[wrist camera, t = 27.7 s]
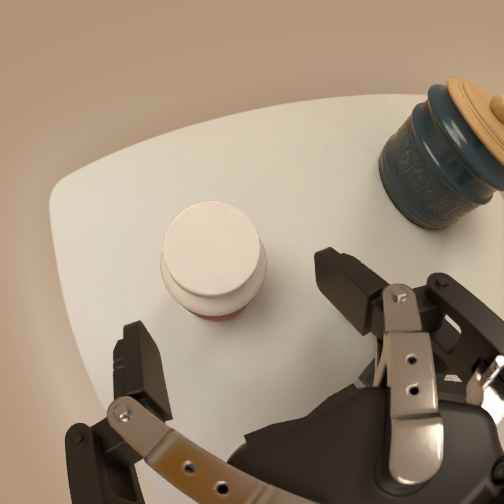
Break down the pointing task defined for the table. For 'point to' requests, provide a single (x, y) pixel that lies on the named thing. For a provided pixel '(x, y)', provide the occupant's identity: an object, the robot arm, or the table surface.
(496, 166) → the canister
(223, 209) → the pill bottle
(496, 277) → the table surface
